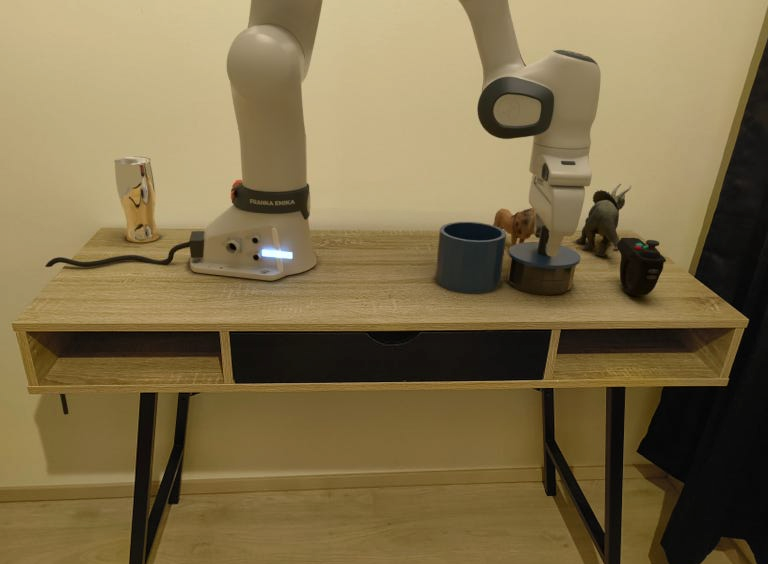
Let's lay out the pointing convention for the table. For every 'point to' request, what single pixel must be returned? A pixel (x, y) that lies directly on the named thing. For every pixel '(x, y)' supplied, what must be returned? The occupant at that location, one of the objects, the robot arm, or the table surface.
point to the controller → (639, 265)
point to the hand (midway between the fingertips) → (544, 245)
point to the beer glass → (137, 197)
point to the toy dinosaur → (603, 221)
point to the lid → (543, 254)
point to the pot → (470, 257)
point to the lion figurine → (516, 224)
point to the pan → (540, 278)
